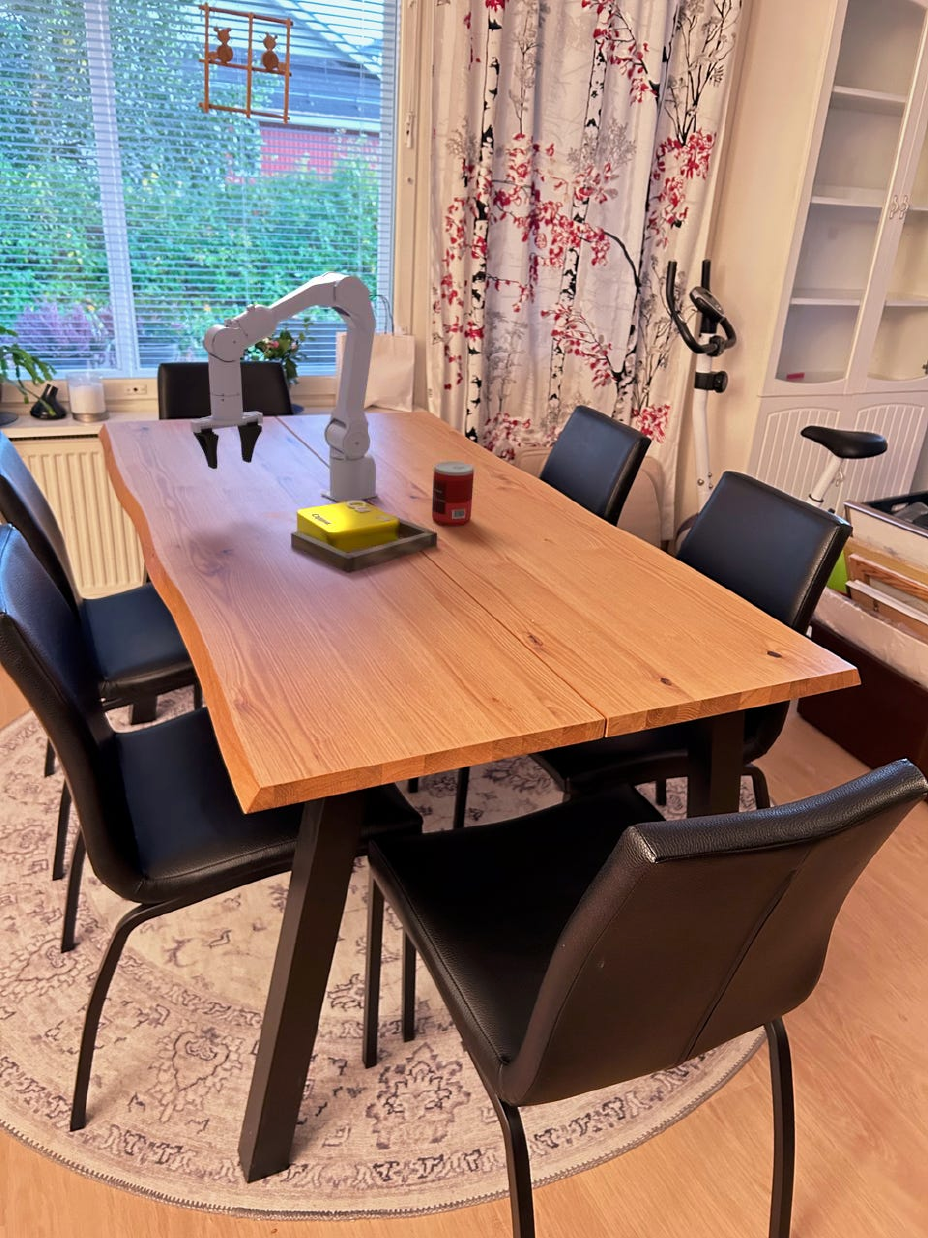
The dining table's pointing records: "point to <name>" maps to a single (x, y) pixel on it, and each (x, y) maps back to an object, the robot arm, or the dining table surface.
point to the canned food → (452, 493)
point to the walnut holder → (412, 543)
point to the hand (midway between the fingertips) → (230, 464)
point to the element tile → (348, 525)
